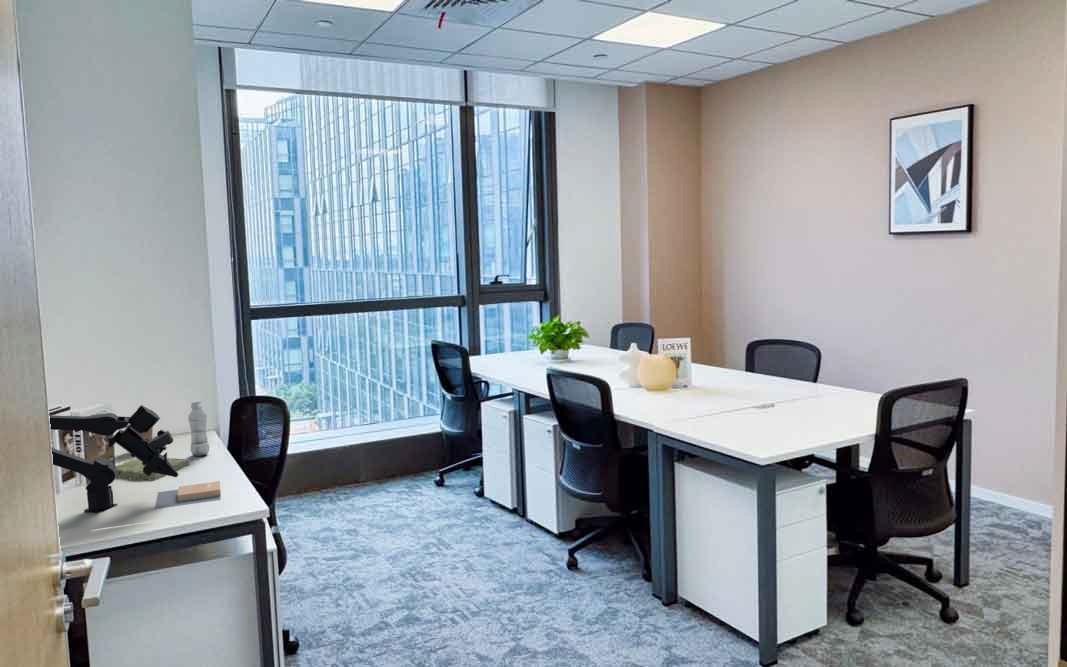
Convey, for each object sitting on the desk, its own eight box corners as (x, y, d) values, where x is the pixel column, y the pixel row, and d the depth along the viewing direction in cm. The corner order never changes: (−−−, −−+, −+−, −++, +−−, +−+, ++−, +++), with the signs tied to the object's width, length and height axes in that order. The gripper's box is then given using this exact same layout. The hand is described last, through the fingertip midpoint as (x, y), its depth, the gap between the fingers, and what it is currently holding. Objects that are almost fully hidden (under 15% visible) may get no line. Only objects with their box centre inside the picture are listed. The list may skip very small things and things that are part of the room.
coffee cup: (137, 448, 308) (135, 418, 307) (161, 448, 307) (159, 418, 306) (120, 455, 298) (117, 424, 297) (145, 455, 297) (142, 424, 296)
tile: (177, 495, 237) (220, 489, 241) (178, 486, 246) (219, 481, 250) (178, 501, 237) (220, 495, 241) (179, 492, 246) (220, 487, 251)
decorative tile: (141, 465, 285) (141, 455, 284) (190, 466, 280) (189, 456, 280) (104, 480, 267) (103, 469, 266) (155, 481, 262) (154, 471, 262)
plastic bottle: (203, 452, 298) (199, 400, 296) (213, 454, 294) (209, 402, 292) (187, 456, 293) (183, 403, 291) (197, 458, 289) (193, 405, 287)
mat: (154, 510, 231) (154, 508, 231) (158, 493, 247) (158, 492, 247) (220, 500, 238) (220, 499, 238) (219, 485, 254) (219, 483, 254)
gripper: (153, 430, 229) (196, 463, 234) (157, 418, 246) (197, 449, 251) (124, 459, 226) (168, 491, 232) (130, 445, 243) (171, 475, 249)
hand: (177, 475), depth 241 cm, fingers closed
